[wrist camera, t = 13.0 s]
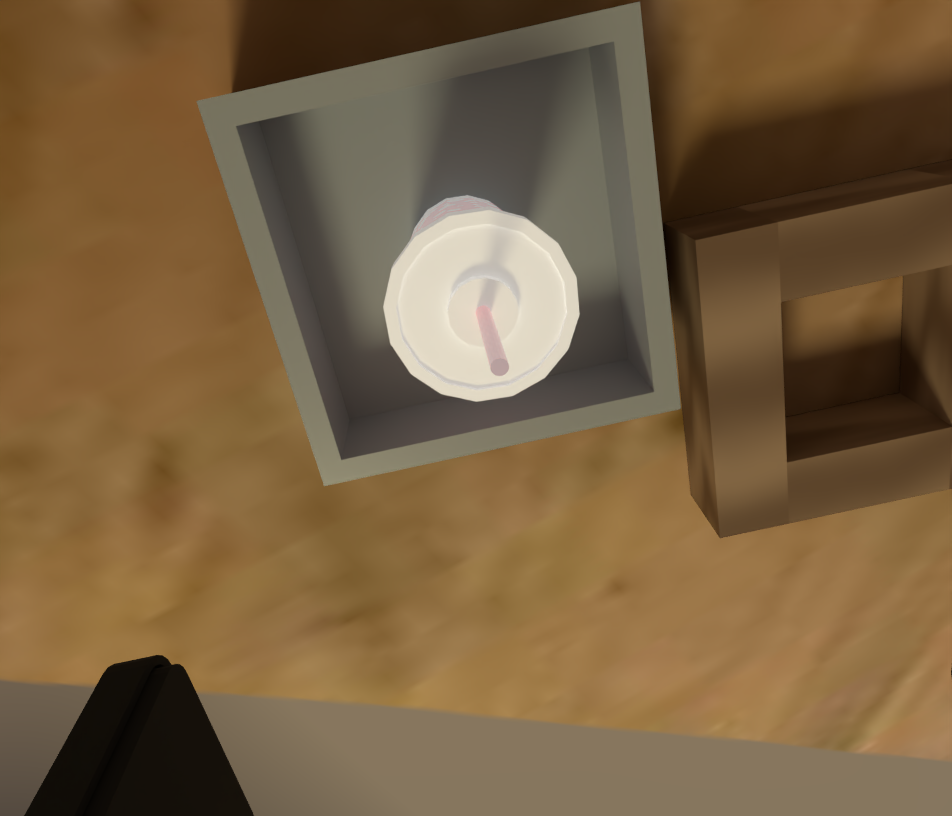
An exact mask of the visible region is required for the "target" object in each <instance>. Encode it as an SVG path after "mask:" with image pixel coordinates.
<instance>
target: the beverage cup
mask: <svg viewBox="0 0 952 816" xmlns="http://www.w3.org/2000/svg"><path fill="white" fill-rule="evenodd" d="M383 309H384V314H385V319H386V324H387V329H388V334H389V339H390V344H391V346H392V347H393V348H394V350H395V351H396V353H397V354H398V356H399V357H400V359H401V360H402V362H403V363H404V365H405V366H406V368H407V369H408V371H409V372H410V374H411V375H413V376H414V377H416V378H417V379H419V380H421V381H422V382H424V383H425V384H427V385H428V386H430V387H431V388H433V389H434V390H436V391H437V392H439V393H440V394H443V395H447V396H452V397H457V398H462V399H466V400H471V401H476V402H478V401H484V400H491V399H497V398H504V397H510V396H514V395H516V394H517V393H519V392H521V391H523V390H524V389H526V388H528V387H530V386H531V385H533V384H535V383H537V382H539V381H540V380H542V379H544V378H545V377H546V376H547V375H548V373H549V372H550V371H551V370H552V369H553V367H554V366H555V365H556V364H557V363H558V361H559V360H560V359H561V358H562V357H563V355H564V354H565V353H566V352H567V350H568V349H569V346H570V343H571V339H572V336H573V333H574V330H575V327H576V324H577V321H578V318H579V315H580V313H579V301H578V289H577V277H576V275H575V274H574V272H573V270H572V268H571V266H570V264H569V262H568V260H567V259H566V257H565V255H564V253H563V251H562V249H561V247H560V246H559V244H558V243H557V242H556V241H555V240H554V239H552V238H551V237H550V236H549V235H547V234H546V233H545V232H543V231H542V230H541V229H540V228H538V227H537V226H536V225H534V224H533V223H532V222H531V221H529V220H528V219H527V218H525V217H524V216H520V215H516V214H512V213H508V212H505V211H502V210H501V209H499V208H498V207H497V206H495V205H494V204H493V203H491V202H490V201H488V200H484V199H480V198H477V197H473V196H469V195H466V196H459V197H453V198H446V199H444V200H443V201H441V202H439V203H438V204H436V205H435V206H433V207H431V208H430V209H428V210H427V211H426V213H425V214H424V215H423V217H422V218H421V220H420V221H419V222H418V224H417V225H416V227H415V228H414V231H413V234H412V236H411V239H410V241H409V242H408V244H407V245H406V247H405V248H404V249H403V251H402V252H401V254H400V255H399V256H398V258H397V259H396V261H395V262H394V264H393V266H392V268H391V273H390V278H389V282H388V287H387V291H386V296H385V300H384V305H383Z"/></svg>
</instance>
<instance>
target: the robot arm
mask: <svg viewBox="0 0 952 816" xmlns="http://www.w3.org/2000/svg"><path fill="white" fill-rule="evenodd" d="M951 675H952V670H951ZM24 816H254V815H253V812H252V810H251V808H250V806H249V804H248V801H247V799H246V797H245V795H244V793H243V791H242V789H241V787H240V785H239V782H238V780H237V778H236V776H235V774H234V772H233V770H232V767H231V765H230V763H229V761H228V759H227V757H226V755H225V753H224V751H223V748H222V746H221V744H220V742H219V740H218V738H217V736H216V734H215V731H214V729H213V727H212V726H211V723H210V721H209V719H208V717H207V714H206V712H205V710H204V708H203V706H202V704H201V702H200V700H199V697H198V695H197V693H196V691H195V689H194V687H193V685H192V682H191V680H190V678H189V676H188V674H187V672H186V670H185V669H184V667H183V666H181V665H180V664H174V665H171V663H170V662H169V660H168V659H167V658H165V657H164V656H162V655H155V656H151V657H146V658H141V659H136V660H131V661H126V662H122V663H117V664H113V665H111V666H110V667H108V668H107V669H106V671H105V672H104V673H103V675H102V677H101V678H100V680H99V682H98V684H97V686H96V687H95V689H94V691H93V693H92V695H91V696H90V698H89V700H88V702H87V704H86V705H85V707H84V709H83V711H82V713H81V714H80V716H79V718H78V720H77V722H76V724H75V725H74V727H73V729H72V731H71V732H70V734H69V736H68V738H67V740H66V742H65V744H64V745H63V747H62V749H61V750H60V752H59V754H58V756H57V758H56V759H55V761H54V763H53V765H52V767H51V769H50V770H49V772H48V774H47V776H46V778H45V779H44V781H43V783H42V785H41V787H40V788H39V790H38V792H37V794H36V796H35V797H34V799H33V801H32V803H31V805H30V807H29V808H28V810H27V812H26V814H25V815H24Z"/></svg>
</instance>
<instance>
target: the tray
mask: <svg viewBox="0 0 952 816" xmlns="http://www.w3.org/2000/svg"><path fill="white" fill-rule="evenodd" d="M197 104H198V107H199V110H200V113H201V116H202V119H203V122H204V125H205V128H206V131H207V134H208V137H209V140H210V143H211V146H212V149H213V152H214V155H215V158H216V161H217V164H218V167H219V170H220V173H221V176H222V179H223V182H224V185H225V188H226V191H227V194H228V197H229V200H230V203H231V206H232V209H233V212H234V215H235V218H236V221H237V225H238V228H239V231H240V234H241V237H242V240H243V243H244V246H245V249H246V252H247V255H248V258H249V261H250V264H251V267H252V270H253V273H254V276H255V279H256V282H257V285H258V288H259V291H260V294H261V297H262V300H263V303H264V306H265V309H266V312H267V315H268V318H269V321H270V324H271V327H272V330H273V333H274V336H275V339H276V342H277V345H278V348H279V351H280V354H281V357H282V360H283V363H284V366H285V369H286V372H287V375H288V378H289V381H290V384H291V387H292V390H293V393H294V396H295V399H296V402H297V405H298V408H299V411H300V414H301V417H302V420H303V423H304V426H305V429H306V432H307V435H308V438H309V441H310V444H311V447H312V450H313V453H314V456H315V459H316V462H317V465H318V469H319V472H320V475H321V478H322V481H323V484H324V486H327V485H332V484H336V483H341V482H346V481H350V480H355V479H359V478H364V477H369V476H373V475H378V474H383V473H387V472H392V471H396V470H401V469H406V468H410V467H415V466H419V465H424V464H429V463H433V462H438V461H443V460H447V459H452V458H456V457H461V456H466V455H470V454H475V453H479V452H484V451H489V450H493V449H498V448H503V447H507V446H512V445H516V444H521V443H526V442H530V441H535V440H539V439H544V438H549V437H553V436H558V435H563V434H567V433H572V432H576V431H581V430H586V429H590V428H595V427H599V426H604V425H609V424H613V423H618V422H623V421H627V420H632V419H636V418H641V417H646V416H650V415H655V414H659V413H664V412H669V411H673V410H678V409H681V407H680V397H679V387H678V377H677V367H676V357H675V347H674V337H673V327H672V317H671V307H670V297H669V287H668V277H667V267H666V257H665V247H664V237H663V227H662V217H661V207H660V197H659V187H658V177H657V167H656V157H655V147H654V137H653V127H652V117H651V107H650V97H649V87H648V77H647V67H646V57H645V47H644V37H643V27H642V17H641V7H640V2H635V3H631V4H626V5H622V6H617V7H613V8H609V9H604V10H600V11H595V12H591V13H586V14H582V15H577V16H573V17H569V18H564V19H560V20H555V21H551V22H546V23H542V24H537V25H533V26H529V27H524V28H520V29H515V30H511V31H506V32H502V33H497V34H493V35H489V36H484V37H480V38H475V39H471V40H466V41H462V42H457V43H453V44H448V45H444V46H440V47H435V48H431V49H426V50H422V51H417V52H413V53H408V54H404V55H400V56H395V57H391V58H386V59H382V60H377V61H373V62H368V63H364V64H360V65H355V66H351V67H346V68H342V69H337V70H333V71H328V72H324V73H320V74H315V75H311V76H306V77H302V78H297V79H293V80H288V81H284V82H280V83H275V84H271V85H266V86H262V87H257V88H253V89H248V90H244V91H240V92H235V93H231V94H226V95H222V96H217V97H213V98H208V99H204V100H200V101H197ZM466 195H469V196H473V197H477V198H480V199H484V200H488V201H490V202H491V203H493V204H494V205H495V206H497V207H498V208H499V209H501V210H502V211H505V212H508V213H512V214H516V215H520V216H524V217H525V218H527V219H528V220H529V221H531V222H532V223H533V224H534V225H536V226H537V227H538V228H540V229H541V230H542V231H543V232H545V233H546V234H547V235H549V236H550V237H551V238H552V239H554V240H555V241H556V242H557V243H558V244H559V246H560V247H561V249H562V251H563V253H564V255H565V257H566V259H567V260H568V262H569V264H570V266H571V268H572V270H573V272H574V274H575V275H576V277H577V289H578V301H579V313H580V315H579V318H578V321H577V324H576V327H575V330H574V333H573V336H572V339H571V343H570V346H569V349H568V350H567V352H566V353H565V354H564V355H563V357H562V358H561V359H560V360H559V361H558V363H557V364H556V365H555V366H554V367H553V369H552V370H551V371H550V372H549V373H548V375H547V376H546V377H545V378H544V379H542V380H540V381H539V382H537V383H535V384H533V385H531V386H530V387H528V388H526V389H524V390H523V391H521V392H519V393H517V394H516V395H514V396H510V397H504V398H497V399H491V400H484V401H478V402H476V401H471V400H466V399H462V398H457V397H452V396H447V395H443V394H440V393H439V392H437V391H436V390H434V389H433V388H431V387H430V386H428V385H427V384H425V383H424V382H422V381H421V380H419V379H417V378H416V377H414V376H413V375H411V374H410V372H409V371H408V369H407V368H406V366H405V365H404V363H403V362H402V360H401V359H400V357H399V356H398V354H397V353H396V351H395V350H394V348H393V347H392V346H391V344H390V339H389V334H388V329H387V324H386V319H385V314H384V309H383V305H384V300H385V296H386V291H387V287H388V282H389V278H390V273H391V268H392V266H393V264H394V262H395V261H396V259H397V258H398V256H399V255H400V254H401V252H402V251H403V249H404V248H405V247H406V245H407V244H408V242H409V241H410V239H411V236H412V234H413V231H414V228H415V227H416V225H417V224H418V222H419V221H420V220H421V218H422V217H423V215H424V214H425V213H426V211H427V210H428V209H430V208H431V207H433V206H435V205H436V204H438V203H439V202H441V201H443V200H444V199H446V198H453V197H459V196H466Z"/></svg>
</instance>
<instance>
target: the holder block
mask: <svg viewBox="0 0 952 816" xmlns="http://www.w3.org/2000/svg"><path fill="white" fill-rule="evenodd" d="M664 229H665V239H666V249H667V259H668V269H669V280H670V290H671V300H672V310H673V320H674V330H675V340H676V350H677V360H678V370H679V380H680V391H681V401H682V411H683V421H684V431H685V441H686V451H687V461H688V471H689V481H690V491H691V496H692V497H693V499H694V500H695V502H696V503H697V505H698V506H699V508H700V509H701V511H702V512H703V514H704V515H705V517H706V518H707V520H708V521H709V523H710V524H711V525H712V527H713V528H714V530H715V531H716V533H717V534H718V536H719V537H720V538H723V537H728V536H732V535H737V534H742V533H746V532H751V531H756V530H760V529H765V528H770V527H774V526H779V525H784V524H789V523H793V522H798V521H803V520H807V519H812V518H817V517H821V516H826V515H831V514H835V513H840V512H845V511H849V510H854V509H859V508H863V507H868V506H873V505H877V504H882V503H887V502H891V501H896V500H901V499H905V498H910V497H915V496H919V495H924V494H929V493H933V492H938V491H943V490H947V489H952V160H947V161H943V162H938V163H934V164H929V165H925V166H920V167H916V168H911V169H907V170H902V171H898V172H893V173H888V174H884V175H879V176H875V177H870V178H866V179H861V180H857V181H852V182H848V183H843V184H839V185H834V186H829V187H825V188H820V189H816V190H811V191H807V192H802V193H798V194H793V195H789V196H784V197H780V198H775V199H770V200H766V201H761V202H757V203H752V204H748V205H743V206H739V207H734V208H730V209H725V210H721V211H716V212H711V213H707V214H702V215H698V216H693V217H689V218H684V219H680V220H675V221H671V222H666V223H664ZM899 276H903V302H902V333H901V364H900V393H896V394H891V395H887V396H882V397H878V398H873V399H868V400H864V401H859V402H854V403H850V404H845V405H841V406H836V407H831V408H827V409H822V410H817V411H813V412H808V413H804V414H799V415H794V416H790V417H785V400H784V373H783V345H782V318H781V302H784V301H789V300H793V299H798V298H802V297H807V296H812V295H816V294H821V293H825V292H830V291H834V290H839V289H844V288H848V287H853V286H857V285H862V284H867V283H871V282H876V281H880V280H885V279H889V278H894V277H899Z"/></svg>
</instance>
